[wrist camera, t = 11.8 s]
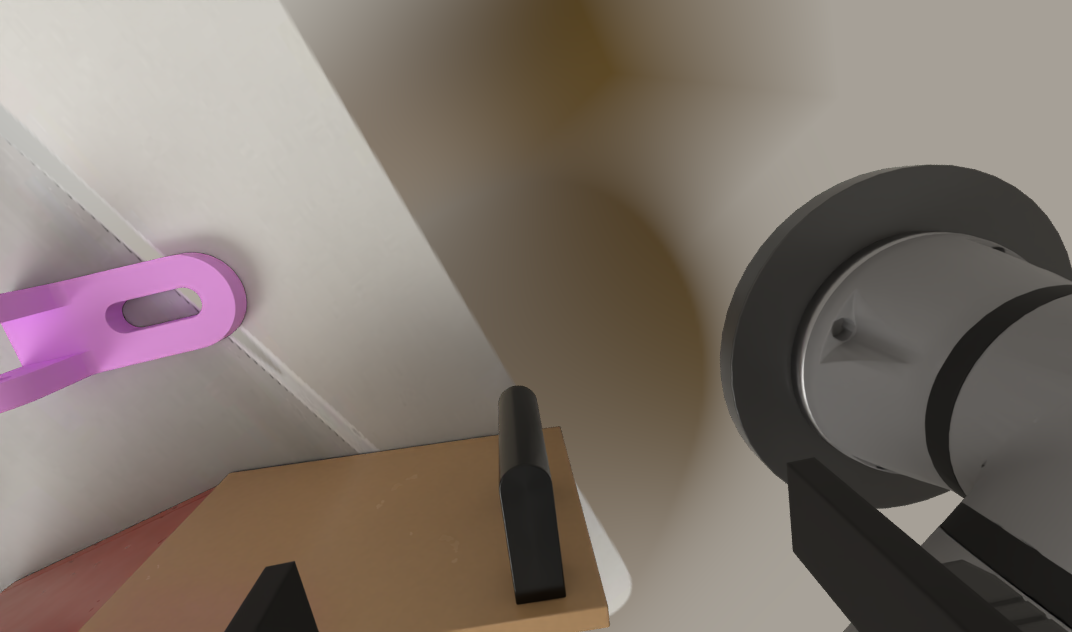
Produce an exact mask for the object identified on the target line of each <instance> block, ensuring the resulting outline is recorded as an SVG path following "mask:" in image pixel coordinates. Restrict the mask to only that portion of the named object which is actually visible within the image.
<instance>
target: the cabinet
mask: <svg viewBox="0 0 1072 632" xmlns="http://www.w3.org/2000/svg"><path fill="white" fill-rule="evenodd" d="M216 487H217V486H216ZM216 487H214V488H212V489H210V490H207V491H205V492H203V493H201V494H199V495H197V496H195V497H193V498H191V499H189V500H186V501H184V502H182V503H180V504H178V505H176V506H174V507H172V508H170V509H168V510H165V511H163V512H161V513H159V514H157V515H155V516H153V517H151V518H149V519H147V520H144V521H142V522H140V523H138V524H136V525H134V526H132V527H130V528H128V529H126V530H123V531H121V532H119V533H117V534H115V535H113V536H111V537H109V538H107V539H104V540H102V541H100V542H98V543H96V544H94V545H92V546H90V547H88V548H86V549H83V550H81V551H79V552H77V553H75V554H73V555H71V556H69V557H67V558H65V559H62V560H60V561H58V562H56V563H54V564H52V565H50V566H48V567H46V568H44V569H41V570H39V571H37V572H35V573H33V574H31V575H29V576H27V577H25V578H23V579H20V580H18V581H16V582H14V583H13V584H11V585H10V586H9V587H8V588H6V589H5V590H4V591H3V592H2V593H0V632H78V631H79V630H80V629H81V628H82V626H83V625H84V624H85V623H86V622H87V621H88V620H89V619H90V618H91V617H92V616H93V615H94V614H95V613H96V612H97V611H98V610H99V609H100V608H101V607H102V606H103V605H104V604H105V602H106V601H107V600H108V599H109V598H110V597H111V596H112V595H113V594H114V593H115V592H116V591H117V590H118V589H119V588H120V587H121V586H122V585H123V584H124V583H125V582H126V581H127V580H128V578H129V577H130V576H131V575H132V574H133V573H134V572H135V571H136V570H137V569H138V568H139V567H140V566H141V565H142V564H143V563H144V562H145V561H146V560H147V559H148V558H149V557H150V556H151V554H152V553H153V552H154V551H155V550H156V549H157V548H158V547H159V546H160V545H161V544H162V543H163V542H164V541H165V540H166V539H167V538H168V537H169V536H170V535H171V534H172V533H173V532H174V530H175V529H176V528H177V527H178V526H179V525H180V524H181V523H182V522H183V521H184V520H185V519H186V518H187V517H188V516H189V515H190V514H191V513H192V512H193V511H194V510H195V509H196V508H197V506H198V505H199V504H200V503H201V502H202V501H203V500H204V499H205V498H206V497H207V496H208V495H209V494H210V493H211V492H212V491H213V490H214V489H215V488H216Z"/></svg>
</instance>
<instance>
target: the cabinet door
mask: <svg viewBox="0 0 1072 632" xmlns="http://www.w3.org/2000/svg"><path fill="white" fill-rule="evenodd" d="M498 421H499V435H494V436H487V437H480V438H473V439H466V440H459V441H452V442H445V443H438V444H431V445H424V446H417V447H410V448H403V449H396V450H389V451H382V452H375V453H368V454H361V455H354V456H347V457H340V458H332V459H325V460H318V461H311V462H304V463H297V464H290V465H283V466H276V467H269V468H262V469H255V470H248V471H241V472H234V473H229V474H228V475H227V476H226V477H225V478H224V479H223V480H222V481H221V483H220V484H219V485H218V486H217V487H216V488H215V489H214V490H213V491H212V492H211V493H210V494H209V495H208V496H207V497H206V498H205V499H204V500H203V501H202V502H201V503H200V504H199V505H198V506H197V508H196V509H195V510H194V511H193V512H192V513H191V514H190V515H189V516H188V517H187V518H186V519H185V520H184V521H183V522H182V523H181V524H180V525H179V526H178V527H177V528H176V529H175V530H174V532H173V533H172V534H171V535H170V536H169V537H168V538H167V539H166V540H165V541H164V542H163V543H162V544H161V545H160V546H159V547H158V548H157V549H156V550H155V551H154V552H153V553H152V554H151V556H150V557H149V558H148V559H147V560H146V561H145V562H144V563H143V564H142V565H141V566H140V567H139V568H138V569H137V570H136V571H135V572H134V573H133V574H132V575H131V576H130V577H129V578H128V580H127V581H126V582H125V583H124V584H123V585H122V586H121V587H120V588H119V589H118V590H117V591H116V592H115V593H114V594H113V595H112V596H111V597H110V598H109V599H108V600H107V601H106V602H105V604H104V605H103V606H102V607H101V608H100V609H99V610H98V611H97V612H96V613H95V614H94V615H93V616H92V617H91V618H90V619H89V620H88V621H87V622H86V623H85V624H84V625H83V626H82V628H81V629H80V630H79V631H78V632H224V631H225V629H226V628H227V626H228V625H229V623H230V622H231V620H232V618H233V617H234V615H235V614H236V612H237V611H238V609H239V608H240V606H241V604H242V603H243V601H244V600H245V598H246V597H247V595H248V593H249V592H250V590H251V589H252V587H253V586H254V584H255V582H256V581H257V579H258V578H259V576H260V575H261V573H262V571H263V570H264V568H265V567H267V566H272V565H277V564H282V563H287V562H292V561H295V563H296V566H297V569H298V572H299V575H300V578H301V581H302V584H303V587H304V589H305V592H306V595H307V598H308V601H309V604H310V607H311V610H312V613H313V616H314V619H315V622H316V625H317V628H318V631H319V632H581V631H587V630H594V629H600V628H606V627H609V626H610V622H609V612H608V605H607V601H606V597H605V593H604V590H603V586H602V582H601V578H600V574H599V571H598V567H597V563H596V559H595V556H594V552H593V548H592V544H591V541H590V537H589V533H588V529H587V526H586V522H585V518H584V514H583V510H582V507H581V503H580V499H579V495H578V492H577V488H576V484H575V480H574V477H573V473H572V469H571V465H570V462H569V458H568V454H567V451H566V447H565V443H564V439H563V435H562V431H561V428H560V427H559V426H558V427H551V428H544V429H542V425H541V421H540V415H539V409H538V404H537V399H536V396H535V394H534V393H533V392H532V391H531V390H530V389H528V388H527V387H524V386H512V387H510V388H508V389H506V390H505V391H504V392H503V393H502V394H501V396H500V398H499V404H498Z"/></svg>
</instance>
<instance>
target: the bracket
mask: <svg viewBox="0 0 1072 632" xmlns="http://www.w3.org/2000/svg"><path fill="white" fill-rule="evenodd" d="M182 287H184V288H189V289H192V290H193V291H195V292H196V293H197V294H198V295H199V297H200V298H201V301H202V309H201V311H200V313H199V314H198V315H193V316H189V317H185V318H181V319H177V320H172V321H168V322H164V323H160V324H155V325H151V326H147V327H135V326H133V325H131V324H129V323H128V322H127V321H126V320H125V318H124V316H123V313H122V307H123V305H124V303H125V302H126V301H127V300H130V299H134V298H138V297H142V296H147V295H151V294H155V293H159V292H164V291H168V290H172V289H176V288H182ZM246 306H247V300H246V294H245V290H244V287H243V285H242V283H241V281H240V279H239V278H238V276H237V275H236V274H235V272H234V271H233V270H232V269H231V268H230V267H229V266H227V265H226V264H225V263H223V262H222V261H220V260H219V259H217V258H215V257H212V256H210V255H206V254H202V253H192V252H191V253H182V254H177V255H172V256H167V257H162V258H158V259H154V260H150V261H145V262H141V263H137V264H132V265H128V266H124V267H120V268H115V269H111V270H107V271H103V272H98V273H94V274H90V275H86V276H81V277H77V278H73V279H69V280H64V281H60V282H56V283H51V284H46V285H42V286H37V287H32V288H27V289H22V290H17V291H12V292H7V293H2V294H0V323H1V324H2V326H3V328H4V330H5V332H6V334H7V336H8V338H9V340H10V342H11V344H12V346H13V348H14V350H15V352H16V354H17V356H18V358H19V360H20V362H21V364H22V366H23V367H20V368H17V369H14V370H12V371H9V372H6V373H3V374H1V375H0V413H2V412H5V411H8V410H11V409H14V408H17V407H19V406H22V405H25V404H27V403H30V402H33V401H35V400H37V399H40V398H42V397H44V396H46V395H49V394H51V393H53V392H55V391H58V390H60V389H62V388H64V387H66V386H69V385H71V384H73V383H75V382H78V381H80V380H82V379H84V378H86V377H89V376H91V375H94V374H97V373H100V372H104V371H108V370H112V369H116V368H120V367H125V366H129V365H133V364H137V363H141V362H146V361H150V360H154V359H158V358H162V357H167V356H171V355H175V354H179V353H183V352H188V351H192V350H196V349H200V348H204V347H208V346H210V345H213V344H215V343H216V342H218V341H220V340H222V339H224V338H226V337H228V336H229V335H231V334H232V333H233V332H234V331H235V330H236V329H237V328H238V327H239V326H240V324H241V323H242V321H243V319H244V316H245V313H246Z"/></svg>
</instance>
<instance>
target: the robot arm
mask: <svg viewBox="0 0 1072 632" xmlns="http://www.w3.org/2000/svg"><path fill="white" fill-rule="evenodd" d="M791 377H792V384H793V390H794V394H795V397H796V400H797V403H798V405H799V408H800V410H801V412H802V414H803V415H804V417H805V419H806V420H807V422H808V423H809V424H810V426H811V427H812V428H813V429H814V430H815V431H816V432H817V434H818V435H820V436H821V437H822V438H823V439H824V440H825V441H827V442H828V443H829V444H831V445H832V446H833V447H835V448H836V449H837V450H839V451H840V452H842V453H843V454H845V455H846V456H848V457H850V458H852V459H854V460H856V461H858V462H860V463H862V464H864V465H866V466H869V467H871V468H874V469H877V470H881V471H885V472H889V473H894V474H900V475H905V476H908V477H911V478H914V479H917V480H920V481H923V482H927V483H930V484H933V485H936V486H939V487H942V488H945V489H949V490H951V491H954V492H955V493H957V494H958V495H960V496H961V497H963V498H964V499H963V500H962V502H961V503H960V504H959V505H958V506H957V507H956V508H955V509H954V511H953V512H952V513H951V514H950V515H949V516H948V517H947V519H946V520H945V521H944V522H943V523H942V524H941V525H940V526H939V527H938V528H937V529H936V530H935V531H934V532H933V533H932V534H931V535H930V536H929V538H928V539H927V540H926V541H925V542H924V543H923V544H922V545H921V546H920V545H919V544H917V543H916V542H915V541H914V540H913V539H911V538H910V537H909V536H908V535H907V534H906V533H904V532H903V531H902V530H901V529H900V528H899V527H897V526H896V525H895V524H894V523H893V522H891V521H890V520H889V519H888V518H887V517H885V516H884V515H883V514H882V513H881V512H879V511H878V510H877V509H876V508H875V507H873V506H872V505H871V504H870V503H869V502H867V501H866V500H865V499H864V498H863V497H862V496H860V495H859V494H858V493H857V492H856V491H854V490H853V489H852V488H851V487H850V486H848V485H847V484H846V483H845V482H844V481H842V480H841V479H840V478H839V477H838V476H836V475H835V474H834V473H833V472H832V471H830V470H829V469H828V468H827V467H826V466H824V465H823V464H822V463H821V462H820V461H819V460H817V459H816V458H815V457H813V458H808V459H803V460H798V461H793V462H788V463H786V464H787V477H788V491H789V503H790V517H791V531H792V545H793V552H794V553H795V554H796V555H797V557H798V558H799V559H800V561H801V562H802V563H803V564H804V565H805V567H806V568H807V569H808V570H809V571H810V573H811V574H812V575H813V576H814V578H815V579H816V580H817V581H818V583H819V584H820V585H821V586H822V587H823V589H824V590H825V591H826V592H827V593H828V595H829V596H830V597H831V598H832V600H833V601H834V602H835V603H836V604H837V606H838V607H839V608H840V609H841V611H842V612H843V613H844V614H845V616H846V617H847V618H848V619H849V620H850V621H851V624H850V625H849V626H848V627H847V628H846V629H845V630H844V631H843V632H1072V281H1070V280H1068V279H1066V278H1064V277H1062V276H1059V275H1057V274H1055V273H1053V272H1050V271H1048V270H1045V269H1042V268H1039V267H1037V266H1034V265H1032V264H1030V263H1028V262H1027V261H1026V260H1024V259H1023V258H1022V257H1021V256H1019V255H1018V254H1016V253H1015V252H1013V251H1011V250H1009V249H1007V248H1005V247H1003V246H1001V245H999V244H997V243H994V242H992V241H988V240H985V239H982V238H978V237H975V236H971V235H966V234H960V233H950V232H939V231H917V232H908V233H904V234H899V235H895V236H892V237H889V238H886V239H883V240H881V241H878V242H876V243H874V244H872V245H870V246H868V247H866V248H864V249H862V250H861V251H859V252H858V253H856V254H855V255H853V256H852V257H850V258H849V259H848V260H847V261H845V262H844V263H843V264H841V265H840V266H839V267H838V268H837V269H836V270H835V271H834V272H833V273H832V274H831V275H830V276H829V277H828V278H827V279H826V280H825V281H824V283H823V284H822V285H821V286H820V288H819V289H818V290H817V292H816V293H815V295H814V296H813V298H812V299H811V301H810V302H809V304H808V306H807V308H806V310H805V312H804V314H803V316H802V318H801V321H800V323H799V326H798V329H797V332H796V335H795V339H794V344H793V348H792V357H791ZM224 632H319V631H318V628H317V625H316V622H315V619H314V616H313V613H312V610H311V607H310V604H309V601H308V598H307V595H306V592H305V589H304V587H303V584H302V581H301V578H300V575H299V572H298V569H297V566H296V563H295V561H292V562H287V563H282V564H277V565H272V566H267V567H265V568H264V570H263V571H262V573H261V575H260V576H259V578H258V579H257V581H256V582H255V584H254V586H253V587H252V589H251V590H250V592H249V593H248V595H247V597H246V598H245V600H244V601H243V603H242V604H241V606H240V608H239V609H238V611H237V612H236V614H235V615H234V617H233V618H232V620H231V622H230V623H229V625H228V626H227V628H226V629H225V631H224Z"/></svg>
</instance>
